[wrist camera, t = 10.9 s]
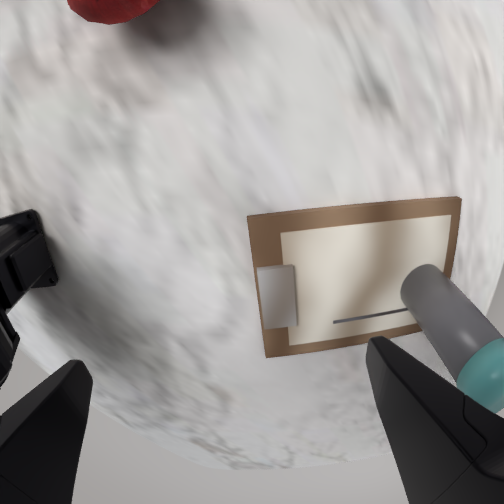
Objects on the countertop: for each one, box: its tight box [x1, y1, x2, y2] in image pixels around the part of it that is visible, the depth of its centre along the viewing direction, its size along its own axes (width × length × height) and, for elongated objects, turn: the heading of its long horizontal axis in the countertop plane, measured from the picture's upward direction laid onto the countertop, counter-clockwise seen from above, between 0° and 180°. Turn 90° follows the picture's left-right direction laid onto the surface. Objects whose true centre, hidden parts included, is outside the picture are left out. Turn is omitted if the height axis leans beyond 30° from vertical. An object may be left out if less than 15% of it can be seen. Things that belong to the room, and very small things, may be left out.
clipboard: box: [247, 196, 462, 358], centre depth 22 cm, size 16×12×1 cm
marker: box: [400, 264, 504, 413], centre depth 17 cm, size 4×4×12 cm
